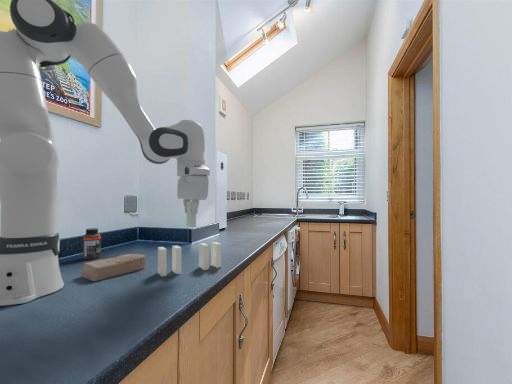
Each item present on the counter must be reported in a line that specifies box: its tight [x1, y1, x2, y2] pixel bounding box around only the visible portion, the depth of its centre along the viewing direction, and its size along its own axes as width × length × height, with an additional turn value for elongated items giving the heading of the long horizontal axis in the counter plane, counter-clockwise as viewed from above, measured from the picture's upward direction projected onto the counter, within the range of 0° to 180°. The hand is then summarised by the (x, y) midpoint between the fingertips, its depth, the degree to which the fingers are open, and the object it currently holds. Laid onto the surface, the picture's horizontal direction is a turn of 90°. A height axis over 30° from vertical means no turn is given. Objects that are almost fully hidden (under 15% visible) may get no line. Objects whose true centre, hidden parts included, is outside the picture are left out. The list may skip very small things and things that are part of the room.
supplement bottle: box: [82, 227, 102, 260], centre depth 105 cm, size 6×6×11 cm
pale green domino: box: [186, 202, 197, 228], centre depth 89 cm, size 2×5×8 cm, turn 32°
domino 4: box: [210, 241, 222, 269], centre depth 93 cm, size 2×5×8 cm, turn 32°
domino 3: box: [198, 242, 210, 271], centre depth 91 cm, size 2×5×8 cm, turn 32°
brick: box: [81, 253, 147, 282], centre depth 86 cm, size 17×8×5 cm, turn 147°
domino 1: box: [157, 246, 168, 277], centre depth 84 cm, size 2×5×8 cm, turn 32°
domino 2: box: [171, 245, 182, 275], centre depth 86 cm, size 2×5×8 cm, turn 32°
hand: (190, 213), depth 89 cm, fingers closed on pale green domino, 5 cm apart
